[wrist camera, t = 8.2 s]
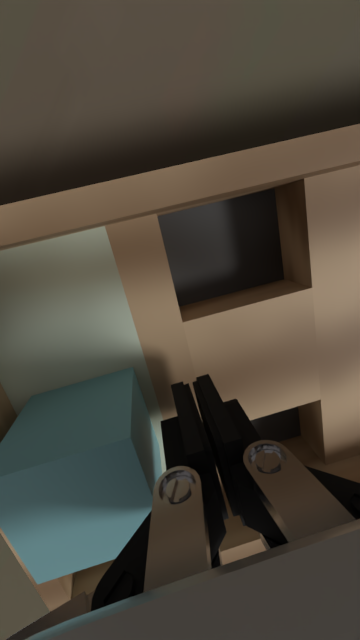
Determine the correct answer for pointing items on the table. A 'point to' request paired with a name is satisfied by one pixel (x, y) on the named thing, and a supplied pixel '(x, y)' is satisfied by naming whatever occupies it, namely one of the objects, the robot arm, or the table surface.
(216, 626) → the robot arm
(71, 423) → the teal block
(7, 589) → the table surface
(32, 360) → the box
